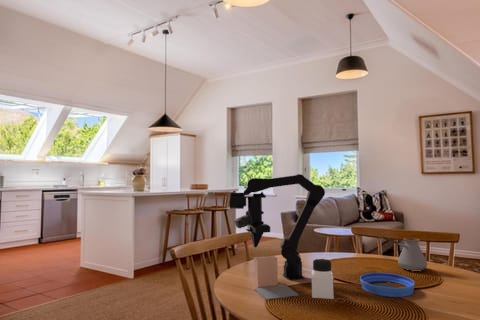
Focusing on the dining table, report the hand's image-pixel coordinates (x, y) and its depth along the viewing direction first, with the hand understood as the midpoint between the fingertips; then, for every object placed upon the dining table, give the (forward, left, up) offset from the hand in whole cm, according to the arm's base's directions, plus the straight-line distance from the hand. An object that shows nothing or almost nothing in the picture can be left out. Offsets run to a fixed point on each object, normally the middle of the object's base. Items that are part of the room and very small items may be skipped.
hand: (255, 247), depth 141 cm
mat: (0, +20, -12) cm, 24 cm away
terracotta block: (0, +11, -12) cm, 16 cm away
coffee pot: (-62, +13, -12) cm, 64 cm away
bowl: (-39, +30, -12) cm, 51 cm away
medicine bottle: (-14, +28, -12) cm, 34 cm away
